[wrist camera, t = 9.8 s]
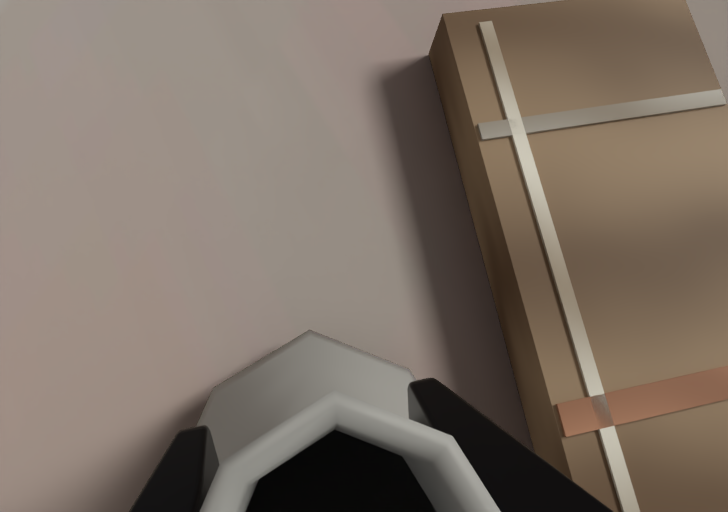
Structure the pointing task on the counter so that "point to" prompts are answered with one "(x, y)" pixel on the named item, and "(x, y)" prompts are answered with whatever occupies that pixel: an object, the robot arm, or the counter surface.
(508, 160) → the walnut board
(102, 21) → the counter surface
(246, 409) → the flask
